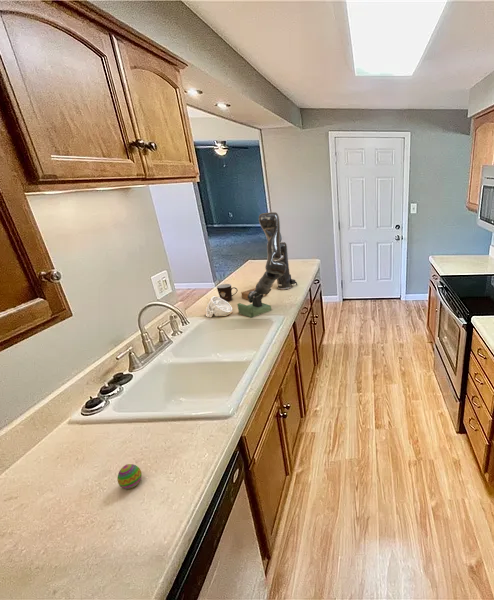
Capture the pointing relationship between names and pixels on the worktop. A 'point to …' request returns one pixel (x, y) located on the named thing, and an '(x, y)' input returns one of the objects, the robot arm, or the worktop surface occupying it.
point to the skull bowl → (218, 307)
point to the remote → (257, 301)
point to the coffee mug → (225, 291)
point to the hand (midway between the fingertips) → (254, 299)
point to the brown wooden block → (245, 293)
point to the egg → (129, 476)
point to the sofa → (253, 309)
